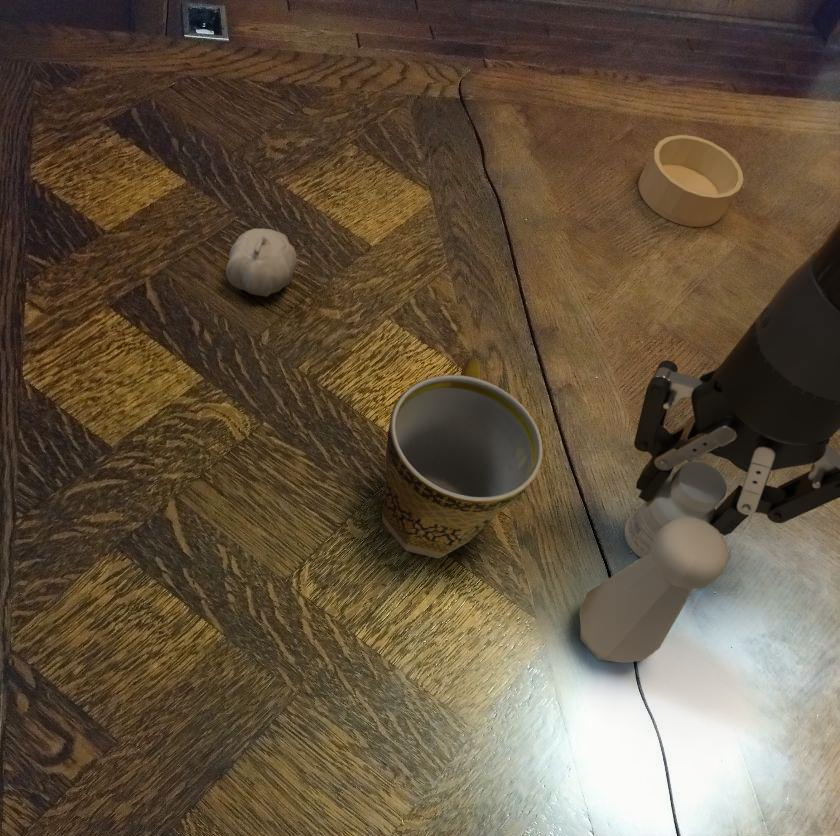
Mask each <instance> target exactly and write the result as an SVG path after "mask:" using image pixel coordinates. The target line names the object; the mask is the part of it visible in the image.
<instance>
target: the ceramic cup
mask: <svg viewBox="0 0 840 836" xmlns="http://www.w3.org/2000/svg"><path fill="white" fill-rule="evenodd" d="M543 449H544V448H543V441H542V437H541V434H540V431H539V428H538V426H537V424H536V422H535V420H534V418H533V417H532V416H531V414H530V413H529V411H528V410H527V409H526V408H525V407H524V405H523V404H521V402H520V401H519V400H518V399H516V397H514V396H513V395H511V394H510V393H509V392H507V391H506V390H504V389H502V388H501V387H499V386H497V385H495V384H493V383H491V382H488V381H486V380H484V379H481V366H480V362H479V360H477V359H474V358H472V357H471V358H467V359H466V360H465V362H464V364H463V367H462V369H461V372H460V374H442V375H435V376H431V377H428V378H423V379H422V380H419V381H418V382H416V383H414V384H412V385H411V386H410V387H408V388H406V390H404V392H402V394H401V395H400V396H399V397H398V399H397V400H396V402H395V404H394V406H393V407H392V410H391V414H390V418H389V424H388V431H387V440H386V452H385V453H386V454H385V463H386V464H385V469H386V471H385V472H386V480H385V490H384V498H383V507H382V517H381V518H382V519H381V520H382V522H383V524H384V526H385V527H386V529H387V530H388V531H389V532H390V534H391V535H392V536H393V537H394V538H395V541H397V543H398V544H399V546H401V548H402V549H403V550H404V551H406V552H410V553H414V554H417V555H422V556H426V557H430V558H433V559H441V558H442V557H445V556H446V555H448V554H450V553H452V552H454V551H455V550H457V549H459V548H461V547H462V546H464V545H466V544H467V543H469V542H470V541H471V540H472V539H473V538H475V537H476V536H477V535H478V534H479V533H480V531H481V530H482V529H484V528H485V527H486V526H487V525H488V524H489V523H490V522H492V520H493V519H495V517H497V516H498V514H499V513H501V512H502V511H503V510H505V509H506V508H508V507H509V506H510V505H511V504H512V503H514V501H515V500H516V499H518V498H519V497H520V496H521V495H522V494H523V493H524V492H525V491H526V490H527V488H528V487H529V486H530V484H531V483H532V482H533V481H534V480H535V478H536V476H537V475H538V473H539V470H540V468H541V464H542V461H543Z"/></svg>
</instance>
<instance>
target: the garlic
mask: <svg viewBox="0 0 840 836" xmlns="http://www.w3.org/2000/svg"><path fill="white" fill-rule="evenodd" d="M296 266H297V252H296V249H295V247H294V246H292V244H290V242H289V239H288V236H287V235H286V234H284V233H282V232H279V231H276V230H274V229H270V228H256V227H255V228H252V229H249V230H246V231H245V232H243V233H242V234H240V235H239V236H238V237H237V239H236V240H235V242H234V244H232V245H231V248H230V251H229V260H228V262H227V263H226V266H225V267H226V268H225V275H226V278H227V280H228V282H229V283H230V285H232V286H233V287H234V288H236V289H238V290H241V291H245V292H247V293H248V294H250V295H253V296H254V295H255V296H260V297H265V298H266V297H269V296H270V295H271V294H275V293H278V292H280V291H281V290H283V288H285V287H287V286H289V285H290V284H291V281H292V279H293V278H292V277H293V275H294V272H295V271H296Z"/></svg>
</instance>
